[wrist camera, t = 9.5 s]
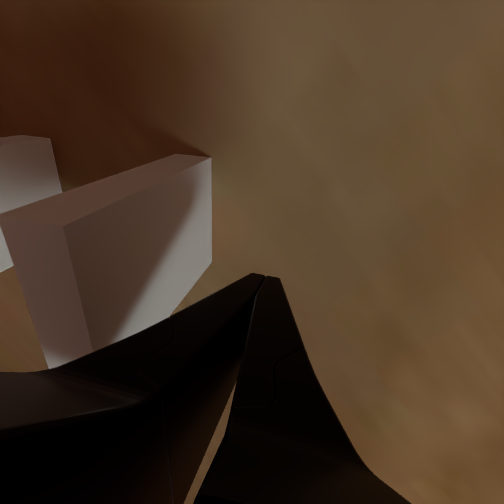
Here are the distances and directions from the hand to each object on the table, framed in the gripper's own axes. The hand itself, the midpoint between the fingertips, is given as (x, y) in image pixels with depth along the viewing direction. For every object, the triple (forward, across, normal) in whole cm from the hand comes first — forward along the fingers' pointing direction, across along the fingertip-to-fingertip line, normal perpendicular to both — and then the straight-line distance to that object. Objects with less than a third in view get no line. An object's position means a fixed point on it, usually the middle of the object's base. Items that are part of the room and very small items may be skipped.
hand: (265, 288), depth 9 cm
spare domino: (+5, +4, 0) cm, 7 cm away
